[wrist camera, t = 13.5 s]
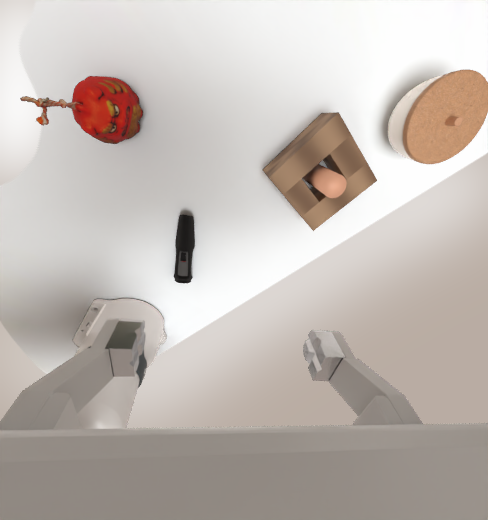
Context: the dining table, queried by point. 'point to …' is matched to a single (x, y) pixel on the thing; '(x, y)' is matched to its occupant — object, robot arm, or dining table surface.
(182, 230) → the electric trimmer
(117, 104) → the red clay folk toy
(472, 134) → the lidded jar
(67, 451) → the robot arm
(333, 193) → the peg
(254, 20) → the dining table surface
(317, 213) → the socket block
